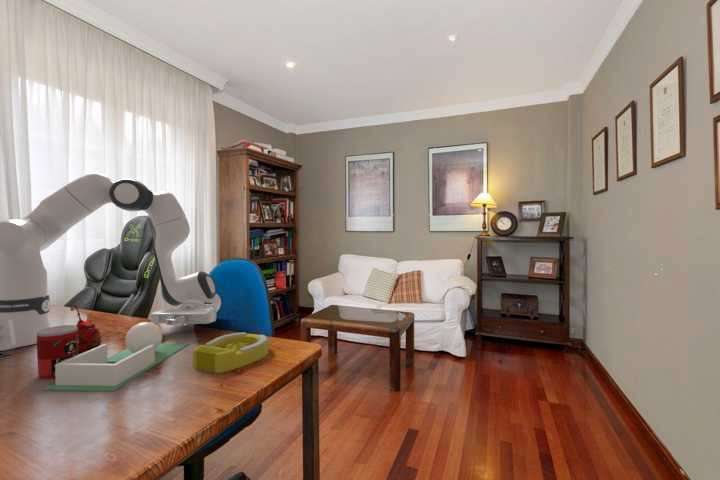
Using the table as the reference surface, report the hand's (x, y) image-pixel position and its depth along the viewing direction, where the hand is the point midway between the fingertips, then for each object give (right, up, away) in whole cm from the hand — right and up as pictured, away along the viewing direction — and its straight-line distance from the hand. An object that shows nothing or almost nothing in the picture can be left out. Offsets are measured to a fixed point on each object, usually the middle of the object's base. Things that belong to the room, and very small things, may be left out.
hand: (170, 322), depth 110 cm
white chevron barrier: (-1, -7, -25) cm, 26 cm away
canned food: (-14, -7, -24) cm, 29 cm away
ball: (-1, -1, -12) cm, 12 cm away
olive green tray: (+25, -7, -13) cm, 30 cm away
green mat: (-1, -6, -19) cm, 20 cm away
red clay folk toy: (-20, -6, -9) cm, 23 cm away
